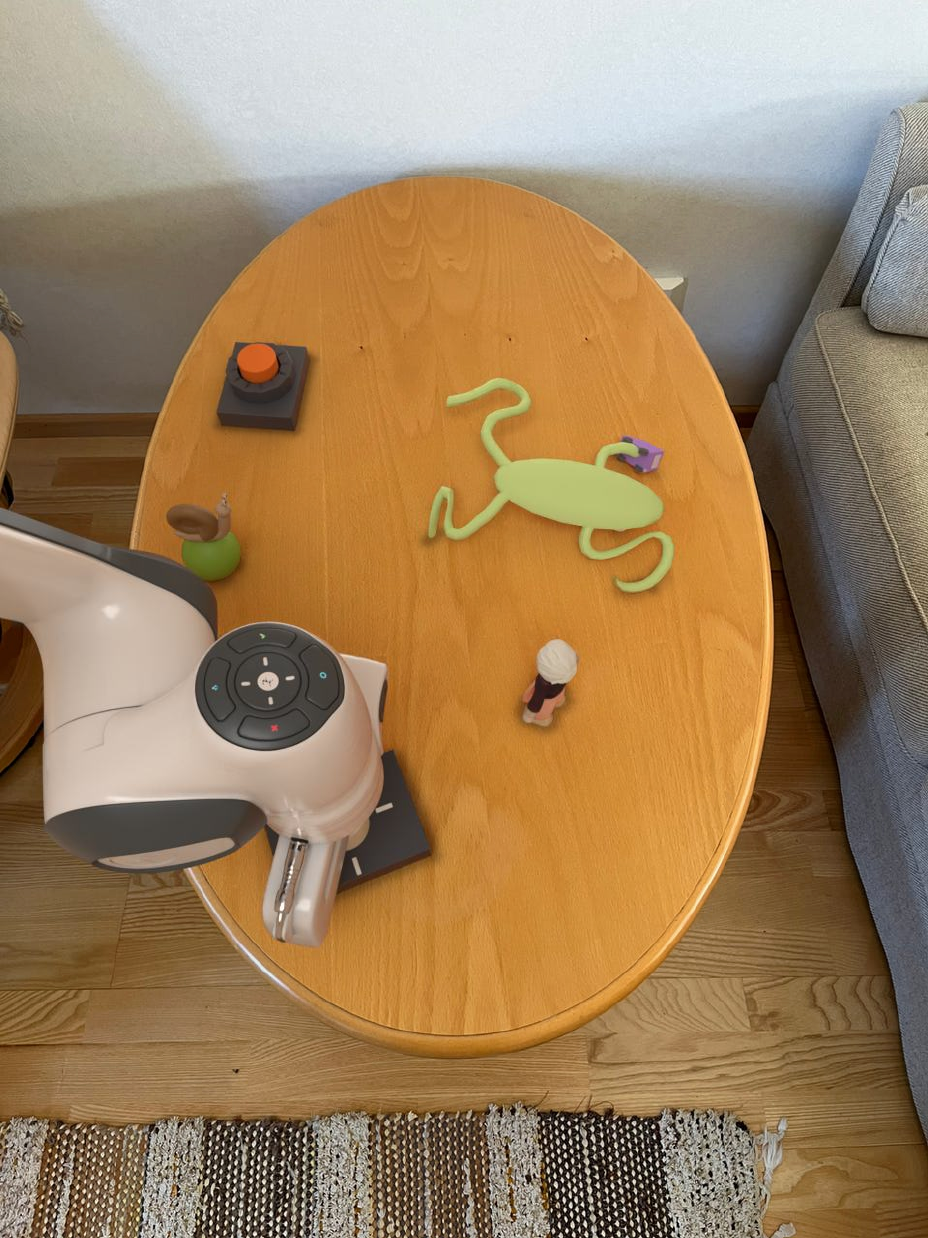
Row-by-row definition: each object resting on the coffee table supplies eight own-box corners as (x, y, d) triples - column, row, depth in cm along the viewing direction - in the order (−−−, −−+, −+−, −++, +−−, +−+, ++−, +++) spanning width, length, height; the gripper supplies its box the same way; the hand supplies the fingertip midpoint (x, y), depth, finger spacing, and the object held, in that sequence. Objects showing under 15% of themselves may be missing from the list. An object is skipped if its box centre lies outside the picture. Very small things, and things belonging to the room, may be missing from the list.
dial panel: (294, 911, 68) (287, 906, 66) (263, 809, 72) (256, 800, 69) (431, 855, 70) (430, 848, 68) (395, 759, 74) (392, 748, 71)
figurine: (459, 397, 92) (459, 360, 87) (697, 461, 89) (712, 427, 84) (400, 531, 85) (396, 499, 80) (658, 608, 81) (671, 580, 76)
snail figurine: (252, 591, 81) (221, 524, 71) (186, 590, 81) (145, 523, 71) (259, 543, 84) (230, 471, 73) (195, 542, 84) (156, 470, 73)
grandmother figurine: (538, 665, 78) (553, 603, 67) (576, 682, 78) (598, 622, 66) (505, 736, 75) (514, 684, 64) (544, 754, 74) (560, 704, 63)
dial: (362, 856, 67) (356, 846, 64) (309, 845, 68) (300, 834, 64) (375, 803, 69) (370, 790, 65) (323, 793, 70) (316, 779, 66)
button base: (294, 431, 90) (288, 406, 87) (221, 425, 90) (211, 400, 87) (309, 360, 95) (304, 334, 91) (239, 355, 95) (231, 329, 91)
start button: (274, 385, 88) (271, 373, 87) (237, 382, 88) (233, 370, 87) (281, 356, 90) (278, 344, 88) (244, 353, 90) (241, 341, 89)
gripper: (323, 947, 50) (349, 964, 63) (393, 643, 59) (403, 711, 72) (222, 928, 51) (267, 949, 63) (306, 629, 60) (331, 699, 72)
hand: (340, 820), depth 68 cm, fingers closed on dial, 4 cm apart
